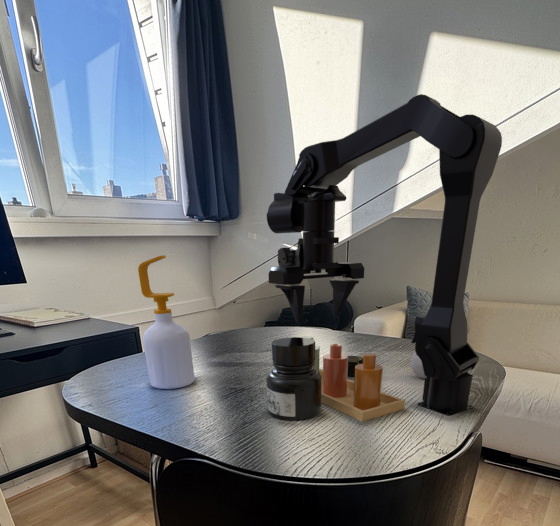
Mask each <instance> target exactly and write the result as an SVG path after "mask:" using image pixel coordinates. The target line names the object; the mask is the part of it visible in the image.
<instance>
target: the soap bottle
mask: <svg viewBox="0 0 560 526" xmlns="http://www.w3.org/2000/svg"><path fill="white" fill-rule="evenodd" d="M166 258H167V256H166V255H164V254H163V255H158V256H156V257H153V258H150V259H148V260H146V261H145V260H144V261H143V262H141V263H140V264H139V265H138V267H137V272H138V277H139V283H140V284H139V285H140V289H141V294H142V295H143V296H144V297H145V298H147V299H153V302H154V303H156V306H157V308H156V309H154V310H153V315H154V323H153V324H152V325H150V326H149V327H148V328H147V329H146V330H145V331H144V333H143V336H142V342H143V343H142V344H143V348H144V354H145V355H144V356H145V361H146V367H147V373H148V379H149V384H150V385H151V386H152V388H156V389H159V390H174V389H180V388H181V389H182V388H184V387H187V386H189V385H192V383H194V382H195V372H194V371H195V369H194V363H193V354H192V346H191V338H190V333H189V332H188V330H187V329H186V328H185V327H184V326H183V325H181V324H179V323H177V322H176V321H174V320H173V312H172V308H167V302H169V298H171V297H173V296H175V293H174V292H158V293H157V292H153V291H152V290H151V286H150V280H149V273H148V272H149V271H148V268H149V266H150V265H151V264H153V263H157V262H158V261H162V260H163V259H166Z"/></svg>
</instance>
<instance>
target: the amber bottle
mask: <svg viewBox="0 0 560 526" xmlns="http://www.w3.org/2000/svg"><path fill="white" fill-rule="evenodd" d="M362 355H363V356H362V358H363V364H358V365H356V366H355V376H354V380H353V381H354V400H353V406H354V407H356V408H358V409H360V410H363V411H364V410H367V409H371V408H374V407H378V406H380V400H381V392H382V385H383V373H384V367H383V365H381V364H378V363H377V354H376V353H373V352H367V353H366V352H365V353H363V354H362Z"/></svg>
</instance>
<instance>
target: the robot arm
mask: <svg viewBox="0 0 560 526" xmlns="http://www.w3.org/2000/svg"><path fill="white" fill-rule="evenodd" d="M419 137H421V138H422V139H424V140H425V141H426V142H427V143H429V144H430V145H432V146H434V147H435V148H436V149H438V151H439V152H438V155H439V178H440V181H441V187H442V190H443V195H444V206H443V213H442V221H441V226H440V234H439V244H438V250H437V257H436V258H437V259H436V265H435V274H434V281H433V289H432V295H431V302H430V306H429V308H428V310H427V312H426V313H425V314H421V315H417V316H416V317H415V319H414V335H413V338H412V340H411V344H414V352H416V355H417V356H418V357H419V358H420V359H421V361H422V365H423V370H424V374H425V376H427V377H426V378H425V379H424V383H423V390H422V391H423V392H422V398H421V399H422V401H420V402H417V404H416V405H417V406H419V407H421V408H424V409H428V410H430V411H433V412H435V413H437V414H440V415H442V416H443V415H444V416H446V417H451V416H454V415H457V414H459V413H462V412H465V411H468V410H471V409H473V408H474V406H473V405H471V404H469V399H470V395H471V388H472V382H473V376H474V374H471V373H469V371H472V370H474V369H475V368H476V366H477V364H478V363H479V361H480V356H479V354H478V353H477V352H476V351H475V350H474V348H473V347H472V346H471V344H470V343H469V341H468V334H467V324H468V320H467V315H466V311H465V307H464V306H465V305H464V300H465V294H466V287H467V282H468V277H469V270H470V265H471V264H470V263H471V257H472V252H473V245H474V240H475V233H476V226H477V222H478V221H477V220H478V215H479V210H480V202H481V199H482V196H483V195H484V192H485V190H486V189H487V187H488V184H489V182H490V180H491V178H492V177H493V173H494V172H495V167H496V165H497V163H498V159H499V155H500V153H501V149H502V145H503V135H502V132H501V131H500V129H499V128H498V127H497V126H496V124H493V123H492V122H489V121H487V120H486V119H484V118H482V117H480V116H477V115H475V114H464V115H461V116H460V115H458V114H456V113H454V112H452V111H451V110H449V109H447V108H446V107H444V106H443V105H441V103H440V101H438V100H436V99H435V98H432V97H431V96H429V95H426V94H422V93H421V94H417V95H415V96H413V97H411V98H410V99H409V100H408V101H407V102H406V103H404V104H402V105H400V106H399V107H397V108H395V109H394V110H391V111H390V112H387V113H386V114H384V115H383V116H381V117H378V118H377V119H375V120H373V121H371V122H370V123H368V124H366V125H365V126H362V127H361V128H358V129H356V130H355V131H353V132H352V133H350V134H348V135H346V136H344V137H342V138H339V139H334V140H327V141H322V142H318V143H315V144H312V145H311V144H310V145H308V146H305V147H303V149H302V150H301V151H300V152H299V154H298V159H297V163H296V165H295V167H294V169H293V171H292V174H291V177H290V179H289V181H288V183H287V186H286V187H285V191H284V192H274V194H273V200H272V202H271V203H270V204H269V206H268V209H267V212H266V222H267V225H268V228H269V230H270V231H271V232H273V233H274V234H295V233H301V232H302V238H301V237H300V238H298V241H297V247H296V249H291V248H290V247H280V248H279V249H278V250H277V264H278V266H271V268H270V269H269V272H268V274H267V275H268V284H272V285H274V286H275V288H276V289H280V290H281V291H282V292H283V294H284V295H285V297H286V299H287V302H288V304H289V307H290V310H291V312H292V316H293V318H294V320H295V323H296V324H301V323H302V318H303V309H304V302H305V301H304V299H305V290H306V285H302V284H301V283H302V282H303V281H304V280H311V279H324V278H333V279H329V283H330V285H331V288H332V317H333V318H335V319H338V318H339V317H340V315H341V312H342V310H343V308H344V306H345V304H346V302H347V301H348V298H349V297H350V295H351V293H352V291H353V290H354V288H355V287H356V285H357V284H359V283H360V280H359V279H365V267H364V265H363V263H362V262H347V261H345V262H338V261H335V260H334V259H335V245H336V244H339V243H340V237H339V236H336V237H335V226H336V222H335V221H336V203H338V202H345V201H347V196H346V194H344V193H343V192H342V191H341V190H340V188H339V186H338V185H339V184H340V183H342V182H343V181H344V180H347V178H348V177H349V175H350V174H351V173H352V172H353V171H354V170H355V169H356V168H358V167H359V166H361V165H363V164H366V163H367V162H369V161H371V160H373V159H376V158H378V157H380V156H382V155H384V154H386V153H388V152H390V151H392V150H395V149H397V148H399V147H400V146H403V145H405V144H407V143H410V142H412V141H413V140H415V139H418V138H419Z"/></svg>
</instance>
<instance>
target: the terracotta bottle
mask: <svg viewBox="0 0 560 526" xmlns="http://www.w3.org/2000/svg"><path fill="white" fill-rule="evenodd" d="M342 349H343V346H342V344H340V343H333V344H330V345H329V353H327V354H325V355H323V356H322V366H323V367H322V370H323V393H324V394H326V395H329V396H331V397H333V398H340V397H344V396H346V395H347V379H348V377H349V376H348V356H349V355H347V354H344V353H342V351H343V350H342Z"/></svg>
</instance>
